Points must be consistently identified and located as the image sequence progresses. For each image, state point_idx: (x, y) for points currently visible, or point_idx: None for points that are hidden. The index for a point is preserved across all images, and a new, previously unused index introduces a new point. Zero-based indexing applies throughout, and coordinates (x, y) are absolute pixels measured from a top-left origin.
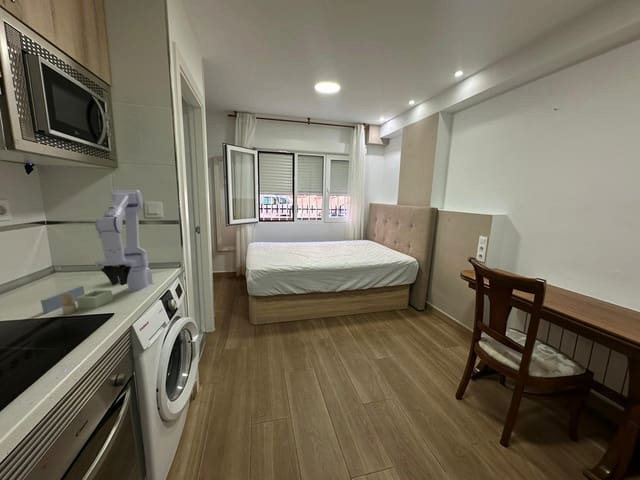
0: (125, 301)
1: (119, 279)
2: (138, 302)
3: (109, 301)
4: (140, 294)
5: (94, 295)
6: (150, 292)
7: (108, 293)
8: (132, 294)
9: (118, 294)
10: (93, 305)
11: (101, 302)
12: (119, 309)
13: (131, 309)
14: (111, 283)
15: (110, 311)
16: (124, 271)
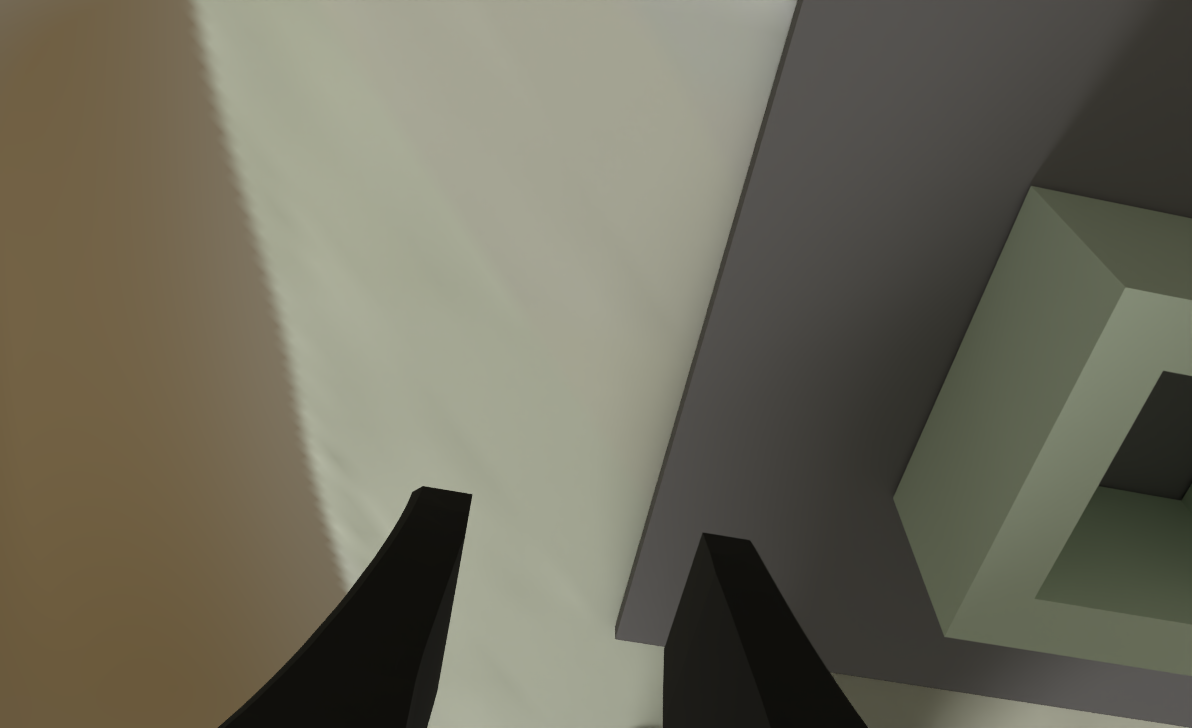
0: (647, 428)
1: (419, 607)
2: (361, 345)
3: (920, 437)
4: (553, 654)
5: None
6: None
7: (962, 551)
8: None
9: (934, 707)
10: (1103, 216)
11: (1000, 326)
12: (537, 76)
13: (271, 28)
14: (766, 572)
15: (672, 6)
16: None
